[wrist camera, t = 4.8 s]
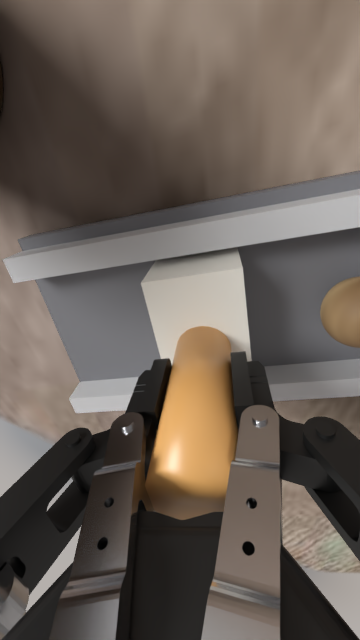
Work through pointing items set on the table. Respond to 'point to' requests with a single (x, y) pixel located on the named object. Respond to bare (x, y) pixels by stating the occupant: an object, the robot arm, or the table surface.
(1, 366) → the table surface
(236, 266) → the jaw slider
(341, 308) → the walnut
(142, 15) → the table surface
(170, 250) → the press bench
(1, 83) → the olive oil
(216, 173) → the table surface
